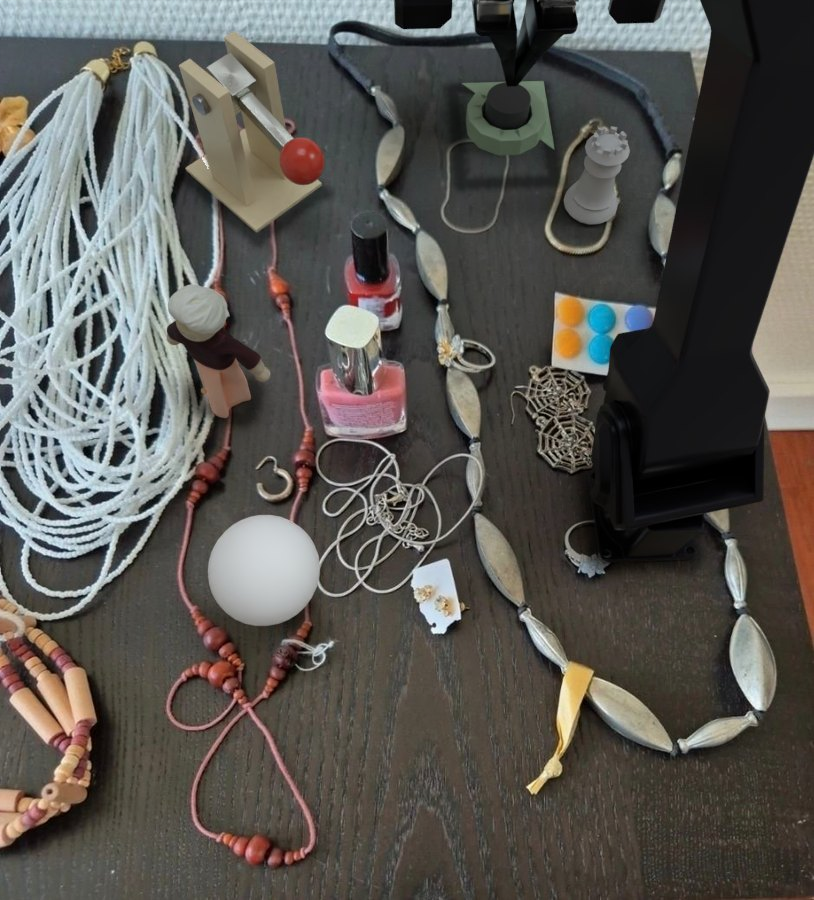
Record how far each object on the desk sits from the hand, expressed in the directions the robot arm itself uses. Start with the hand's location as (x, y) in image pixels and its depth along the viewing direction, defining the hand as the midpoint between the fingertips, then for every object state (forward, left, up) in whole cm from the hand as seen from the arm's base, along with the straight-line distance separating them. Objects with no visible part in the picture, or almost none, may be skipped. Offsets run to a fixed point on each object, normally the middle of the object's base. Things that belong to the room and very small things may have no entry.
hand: (511, 82), depth 63 cm
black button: (0, 0, -3) cm, 3 cm away
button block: (0, 0, -5) cm, 5 cm away
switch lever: (-7, +19, +2) cm, 20 cm away
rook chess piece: (-9, -6, -6) cm, 12 cm away
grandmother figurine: (-25, +22, -6) cm, 34 cm away
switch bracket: (-5, +21, -5) cm, 22 cm away
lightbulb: (-40, +18, -6) cm, 44 cm away
